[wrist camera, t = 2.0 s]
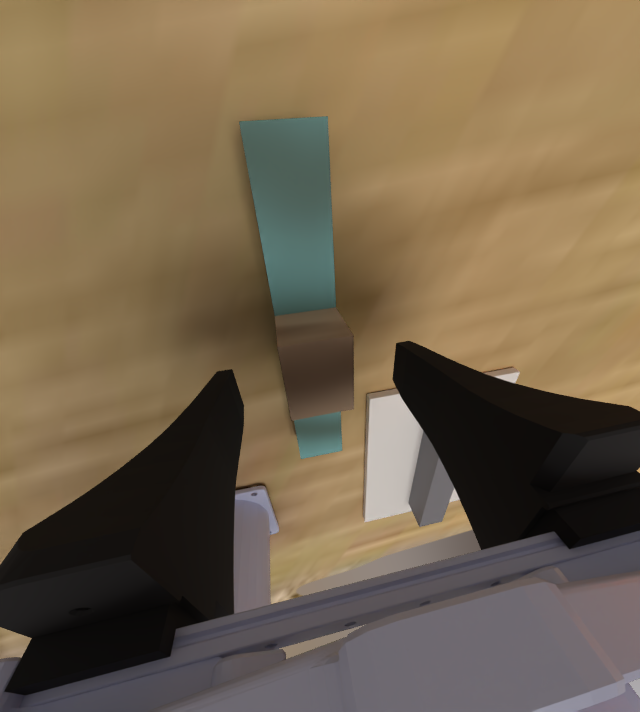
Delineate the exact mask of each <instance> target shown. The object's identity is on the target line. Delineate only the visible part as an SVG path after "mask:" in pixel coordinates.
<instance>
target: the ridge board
mask: <svg viewBox="0 0 640 712" xmlns="http://www.w3.org/2000/svg"><path fill="white" fill-rule="evenodd" d="M519 373H520V371H518V370H517V369H515V368H514V367H513V368H508V369H502V370H497V371H491V372H486V373H484V374H487V375H490V376H493V377H496V378H499V379H502V380H505V381H508V382H512V383H515V382H516V380H517V378H518V375H519ZM457 500H460V499H459V497H458V495H457V492H456V490H455V488H454V486H453V484H452V482H451V480H450V478H449V476H448V474H447V472H446V470H445V468H444V466H443V464H442V462H441V460H440V458H439V456H438V454H437V453H436V451H435V449H434V447H433V445H432V443H431V442H430V440H429V439H428V437H427V435H426V434H425V432H424V431H423V429H422V428H421V426H420V425H419V423H418V422H417V421H416V419H415V418H414V416H413V415H412V413H411V412H410V410H409V409H408V407H407V405H406V404H405V402H404V401H403V399H402V398H401V396H400V394H399V392H398V390H397V389H392V390H386V391H381V392H375V393H370V394H367V410H366V443H365V475H364V507H363V517H364V521H365V522H368V521H372V520H376V519H381V518H385V517H389V516H393V515H397V514H402V513H406V512H410V511H412V512H413V514H414V516H415V518H416V520H417V523H418V525H419V527H421V526H425V525H429V524H433V523H437V522H442V520H443V517H444V515H445V512H446V509H447V506H448V504H449V502H452V501H457Z"/></svg>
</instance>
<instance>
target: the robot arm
mask: <svg viewBox="0 0 640 712" xmlns="http://www.w3.org/2000/svg"><path fill="white" fill-rule="evenodd" d="M393 381H394V383H395V385H396V388H397V390H398V392H399V394H400V396H401V398H402V399H403V401H404V402H405V404H406V405H407V407H408V409H409V410H410V412H411V413H412V415H413V416H414V418H415V419H416V421H417V422H418V423H419V425H420V426H421V428H422V429H423V431H424V432H425V434H426V435H427V437H428V439H429V440H430V442H431V443H432V445H433V447H434V449H435V451H436V453H437V454H438V456H439V458H440V460H441V462H442V464H443V466H444V468H445V470H446V472H447V474H448V476H449V478H450V480H451V482H452V484H453V486H454V488H455V490H456V492H457V495H458V497H459V499H460V501H461V503H462V506H463V508H464V510H465V512H466V514H467V517H468V519H469V521H470V524H471V526H472V529H473V531H474V533H475V536H476V538H477V540H478V543H479V545H480V548H481V550H479V551H476V552H472V553H468V554H464V555H460V556H456V557H452V558H449V559H445V560H441V561H437V562H433V563H430V564H425V565H422V566H418V567H414V568H410V569H406V570H402V571H398V572H394V573H390V574H387V575H383V576H379V577H375V578H371V579H367V580H363V581H360V582H356V583H352V584H348V585H344V586H340V587H336V588H332V589H329V590H325V591H321V592H317V593H313V594H309V595H305V596H301V597H298V598H294V599H290V600H286V601H282V602H278V603H274V604H271V602H270V535H271V534H275V533H277V532H278V531H279V525H278V522H277V519H276V516H275V513H274V510H273V507H272V504H271V501H270V498H269V495H268V492H267V489H266V487H265V486H256V487H251V488H246V489H241V490H237V491H235V487H236V477H237V469H238V463H239V456H240V449H241V442H242V435H243V427H244V404H243V401H242V398H241V395H240V392H239V389H238V386H237V383H236V379H235V376H234V373H233V370H232V369H230V370H224V371H218V372H216V374H215V375H214V376H213V377H212V378H211V380H210V381H209V382H208V383H207V385H206V386H205V387H204V388H203V390H202V391H201V392H200V393H199V394H198V396H197V397H196V398H195V399H194V400H193V402H192V403H191V404H190V405H189V406H188V407H187V408H186V409H185V410H184V411H183V412H182V414H181V415H180V416H179V417H178V418H177V419H176V420H175V421H174V422H173V423H172V424H171V425H170V426H169V427H168V428H167V429H166V430H165V431H164V432H163V433H162V434H161V435H160V436H159V437H158V438H156V439H155V440H154V441H153V442H152V443H151V444H150V445H149V446H147V447H146V448H145V449H144V450H143V451H141V452H140V453H139V454H138V455H136V456H135V457H134V458H133V459H131V460H130V461H129V462H128V463H126V464H125V465H124V466H123V467H121V468H120V469H119V470H117V471H116V472H115V473H113V474H112V475H111V476H109V477H108V478H107V479H105V480H104V481H102V482H101V483H100V484H98V485H97V486H95V487H94V488H92V489H91V490H90V491H88V492H87V493H85V494H84V495H82V496H81V497H79V498H78V499H76V500H75V501H73V502H72V503H70V504H68V505H67V506H65V507H64V508H62V509H61V510H59V511H57V512H56V513H54V514H53V515H51V516H49V517H48V518H46V519H45V520H43V521H41V522H40V523H38V524H37V525H35V526H33V527H32V528H30V529H28V530H27V531H25V532H24V533H23V534H22V535H21V537H20V538H19V539H18V541H17V542H16V544H15V545H14V546H13V548H12V549H11V551H10V552H9V553H8V555H7V556H6V558H5V559H4V560H3V562H2V563H1V565H0V627H2V628H5V629H7V630H10V631H13V632H16V633H19V634H22V635H24V636H27V637H30V638H32V639H31V641H30V643H29V645H28V647H27V649H26V651H25V653H24V654H23V656H22V658H20V657H14V658H4V659H0V712H640V698H639V697H638V695H637V694H636V692H635V691H634V690H633V688H632V687H631V686H630V684H629V682H631V681H634V680H637V679H640V473H639V472H637V470H638V469H639V468H640V411H638V410H636V409H634V408H632V407H629V406H623V405H617V404H611V403H604V402H598V401H591V400H585V399H579V398H574V397H569V396H564V395H559V394H555V393H550V392H546V391H542V390H537V389H534V388H530V387H526V386H522V385H519V384H515V383H512V382H508V381H505V380H502V379H499V378H496V377H493V376H490V375H487V374H484V373H482V372H479V371H476V370H474V369H472V368H469V367H467V366H464V365H462V364H459V363H457V362H455V361H453V360H450V359H448V358H446V357H444V356H442V355H440V354H437V353H435V352H433V351H431V350H429V349H427V348H425V347H423V346H420V345H418V344H416V343H413V342H411V341H406V342H400V343H396V351H395V361H394V371H393ZM365 624H366V625H365ZM362 625H364V626H362ZM358 626H362V627H361V628H359V629H357V630H355V631H353V632H351V633H350V634H348V636H347V637H345V638H342V639H339V640H336V641H334V642H331V643H329V644H326V645H323V646H320V647H318V648H315V649H312V650H310V651H307V652H304V653H302V654H299V655H296V656H294V657H291V658H288V659H286V654H285V652H284V651H283V649H279V648H282V647H286V646H289V645H293V644H297V643H300V642H304V641H307V640H311V639H315V638H318V637H322V636H325V635H329V634H333V633H336V632H340V631H343V630H347V629H351V628H354V627H358Z"/></svg>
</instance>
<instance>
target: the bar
mask: <svg viewBox="0 0 640 712" xmlns="http://www.w3.org/2000/svg"><path fill="white" fill-rule="evenodd" d="M239 124H240V129H241V135H242V140H243V146H244V151H245V157H246V162H247V167H248V173H249V178H250V184H251V189H252V195H253V200H254V206H255V211H256V216H257V222H258V227H259V233H260V238H261V244H262V249H263V255H264V260H265V265H266V271H267V276H268V282H269V287H270V293H271V298H272V304H273V309H274V314H275V325H276V337H277V348H278V353H279V358H280V364H281V369H282V374H283V379H284V384H285V390H286V395H287V400H288V405H289V411H290V416H291V421H293V420H294V423H295V429H296V434H297V440H298V445H299V451H300V456H301V459H304V458H309V457H313V456H318V455H323V454H328V453H333V452H338V451H342V434H341V411H346V410H352V409H354V348H353V334H352V332H351V331H350V329H349V327H348V326H347V324H346V323H345V321H344V319H343V318H342V316H341V315H340V313H339V311H338V310H337V308H336V296H335V273H334V250H333V227H332V205H331V182H330V159H329V136H328V116H326V117H308V118H291V119H274V120H257V121H240V122H239Z"/></svg>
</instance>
